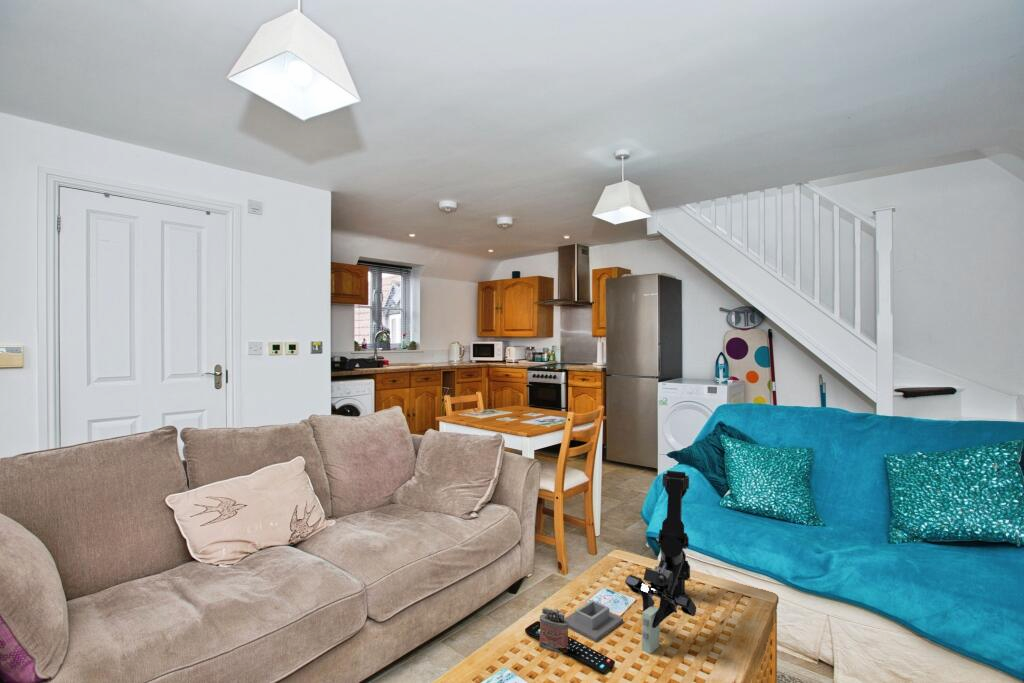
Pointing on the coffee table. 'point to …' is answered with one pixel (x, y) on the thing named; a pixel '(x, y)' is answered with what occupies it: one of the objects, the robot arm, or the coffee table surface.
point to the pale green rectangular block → (650, 630)
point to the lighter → (553, 630)
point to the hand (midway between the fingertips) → (648, 625)
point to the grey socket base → (593, 621)
